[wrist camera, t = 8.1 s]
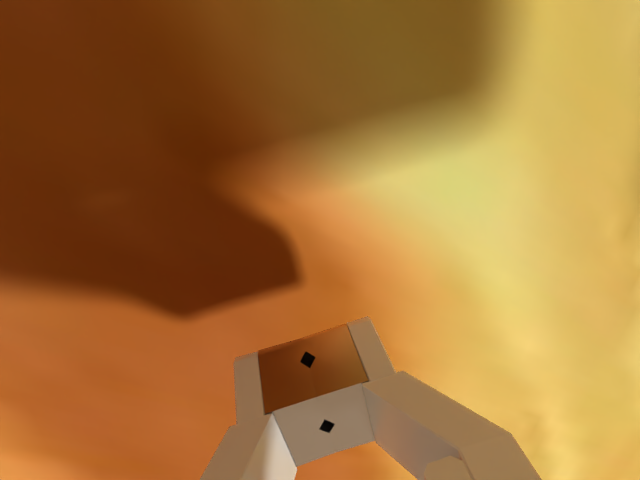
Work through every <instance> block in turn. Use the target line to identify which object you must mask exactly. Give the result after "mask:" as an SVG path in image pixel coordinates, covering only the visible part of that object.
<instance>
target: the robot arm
mask: <svg viewBox="0 0 640 480" xmlns="http://www.w3.org/2000/svg"><path fill="white" fill-rule="evenodd" d="M234 383H235V404H236V425H233V426H230V427H229V428H228V430H227V432H226V434H225V435H224V437H223V439H222V441H221V443H220V444H219V446H218V448H217V450H216V451H215V453H214V455H213V457H212V459H211V460H210V462H209V464H208V466H207V468H206V469H205V471H204V473H203V475H202V476H201V478H200V480H294V478H295V475H296V472H297V468H296V467H297V466H300V465H303V464H305V463H308V462H311V461H313V460H316V459H319V458H322V457H324V456H327V455H330V454H333V453H335V452H339V451H342V450H345V449H349V448H352V447H355V446H358V445H362V444H365V443H368V442H372V441H376V443H377V444H378V445H379V446H380V447H382V448H383V449H384V450H385V451H386V452H387V453H388V454H390V455H391V456H392V457H393V458H394V459H395V460H396V461H397V462H399V463H400V464H401V465H402V466H403V467H404V468H405V469H407V470H408V471H409V472H410V473H411V474H412V475H413V476H415V477H416V478H417V479H418V480H542V479H541V478H540V476H539V475H538V473H537V472H536V470H535V469H534V467H533V466H532V464H531V463H530V461H529V460H528V458H527V457H526V455H525V454H524V452H523V451H522V449H521V448H520V446H519V445H518V443H517V442H516V440H515V439H514V437H513V436H512V434H511V433H509V432H508V431H506V430H504V429H503V428H501V427H499V426H497V425H496V424H494V423H492V422H490V421H489V420H487V419H485V418H484V417H482V416H480V415H478V414H477V413H475V412H473V411H472V410H470V409H468V408H466V407H465V406H463V405H461V404H460V403H458V402H456V401H454V400H453V399H451V398H449V397H448V396H446V395H444V394H442V393H441V392H439V391H437V390H436V389H434V388H432V387H430V386H429V385H427V384H425V383H424V382H422V381H420V380H418V379H417V378H415V377H413V376H412V375H410V374H408V373H406V372H405V371H400V372H397V373H396V371H395V369H394V367H393V365H392V363H391V361H390V358H389V356H388V354H387V352H386V350H385V348H384V346H383V344H382V342H381V339H380V337H379V335H378V333H377V331H376V329H375V327H374V325H373V323H372V320H371V319H370V318H369V317H368V316H367V317H364V318H361V319H358V320H355V321H352V322H349V323H346V324H343V325H340V326H337V327H334V328H331V329H327V330H324V331H321V332H318V333H315V334H312V335H309V336H306V337H303V338H300V339H297V340H293V341H290V342H286V343H283V344H279V345H276V346H272V347H269V348H265V349H262V350H258V351H257V352H253V353H250V354H246V355H243V356H239V357H236V358H235V361H234Z"/></svg>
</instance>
